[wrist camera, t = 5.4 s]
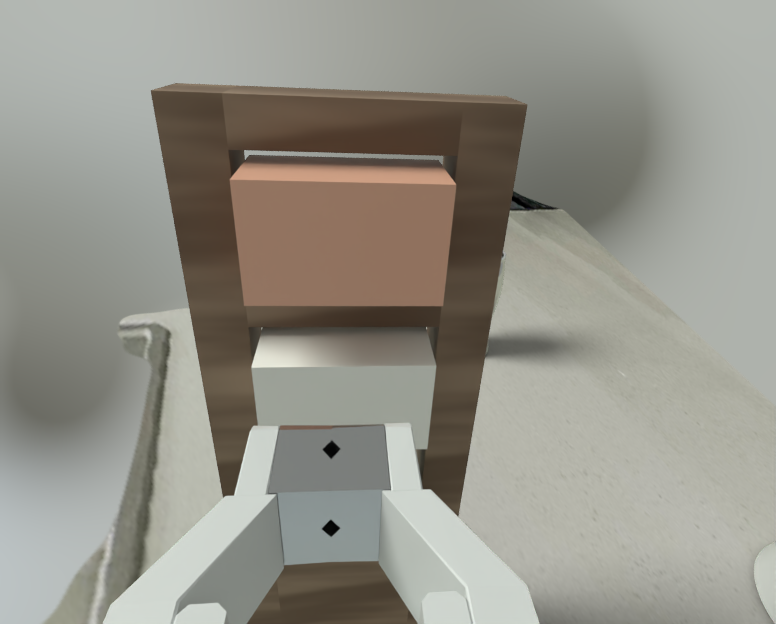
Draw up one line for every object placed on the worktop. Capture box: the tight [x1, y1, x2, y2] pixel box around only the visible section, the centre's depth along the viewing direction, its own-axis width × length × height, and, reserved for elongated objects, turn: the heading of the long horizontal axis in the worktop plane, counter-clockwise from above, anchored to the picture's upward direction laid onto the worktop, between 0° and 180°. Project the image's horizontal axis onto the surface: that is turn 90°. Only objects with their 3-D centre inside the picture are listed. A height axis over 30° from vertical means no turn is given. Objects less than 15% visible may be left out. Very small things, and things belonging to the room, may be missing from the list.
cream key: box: [251, 327, 436, 449], centre depth 24 cm, size 4×8×5 cm, turn 94°
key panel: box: [151, 83, 527, 624], centre depth 29 cm, size 3×14×37 cm, turn 94°
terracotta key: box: [230, 155, 456, 306], centre depth 20 cm, size 4×8×5 cm, turn 94°
